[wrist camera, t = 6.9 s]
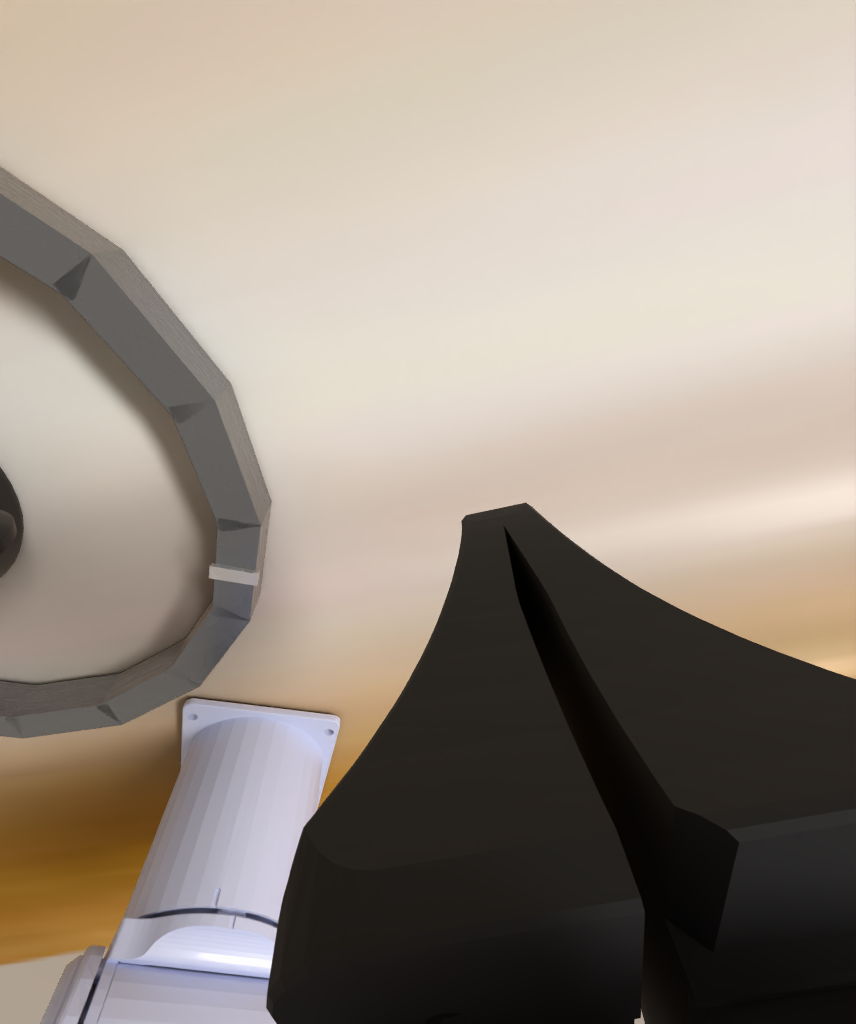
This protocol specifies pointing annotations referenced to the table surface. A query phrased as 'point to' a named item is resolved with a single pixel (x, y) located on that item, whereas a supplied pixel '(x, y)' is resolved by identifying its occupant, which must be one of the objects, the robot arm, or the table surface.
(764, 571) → the table surface
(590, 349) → the table surface
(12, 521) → the mug
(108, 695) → the ring
